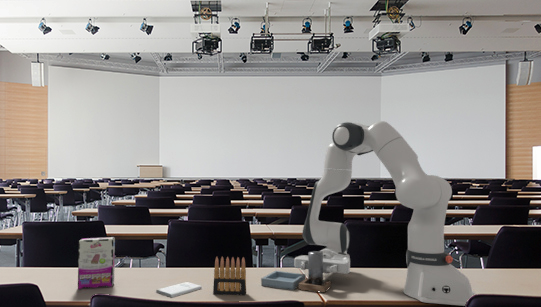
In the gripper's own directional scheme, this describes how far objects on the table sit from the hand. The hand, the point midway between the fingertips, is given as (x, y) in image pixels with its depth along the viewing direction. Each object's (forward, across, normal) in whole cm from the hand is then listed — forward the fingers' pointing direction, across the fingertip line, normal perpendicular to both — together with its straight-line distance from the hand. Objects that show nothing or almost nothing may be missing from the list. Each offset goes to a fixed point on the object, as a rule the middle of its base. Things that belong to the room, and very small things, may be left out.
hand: (315, 268), depth 132 cm
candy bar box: (+32, -69, +7) cm, 76 cm away
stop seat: (0, 0, +6) cm, 7 cm away
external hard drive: (+23, -40, +7) cm, 47 cm away
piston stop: (0, 0, +6) cm, 7 cm away
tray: (0, -12, +6) cm, 14 cm away
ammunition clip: (+19, -23, +7) cm, 30 cm away
